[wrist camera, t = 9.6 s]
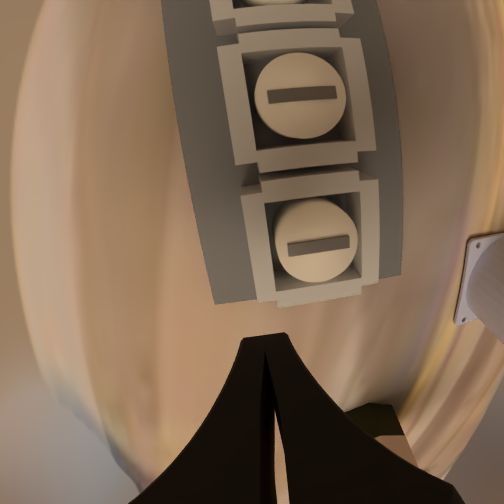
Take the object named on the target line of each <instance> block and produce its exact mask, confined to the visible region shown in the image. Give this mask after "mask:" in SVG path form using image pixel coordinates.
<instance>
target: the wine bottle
mask: <svg viewBox="0 0 504 504" xmlns="http://www.w3.org/2000/svg"><path fill="white" fill-rule="evenodd" d="M345 413H346V414H347V415H348V416H349V417H350V418H351V419H352V420H353V421H354V422H355V423H356V424H357V425H359V426H360V427H361V428H362V429H363V430H364V431H366V432H367V433H368V434H369V435H370V436H372V437H373V438H374V439H376V440H377V441H378V442H380V443H381V444H383V445H384V446H385V447H387V448H388V449H390V450H391V451H392V452H394V453H395V454H397V455H398V456H400V457H401V458H403V459H404V460H406V461H408V462H409V463H411V464H413V465H414V466H416V467H418V466H417V463H416V461H415V458H414V456H413V453H412V451H411V449H410V446H409V444H408V441H407V439H406V437H405V434H404V432H403V430H402V427H401V425H400V423H399V421H398V418H397V416H396V414H395V412H394V409H393V407H392V405H383V404H372V403H368V404H365V405H363V406H360V407H358V408H355V409H353V410H350V411H348V412H345Z"/></svg>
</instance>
